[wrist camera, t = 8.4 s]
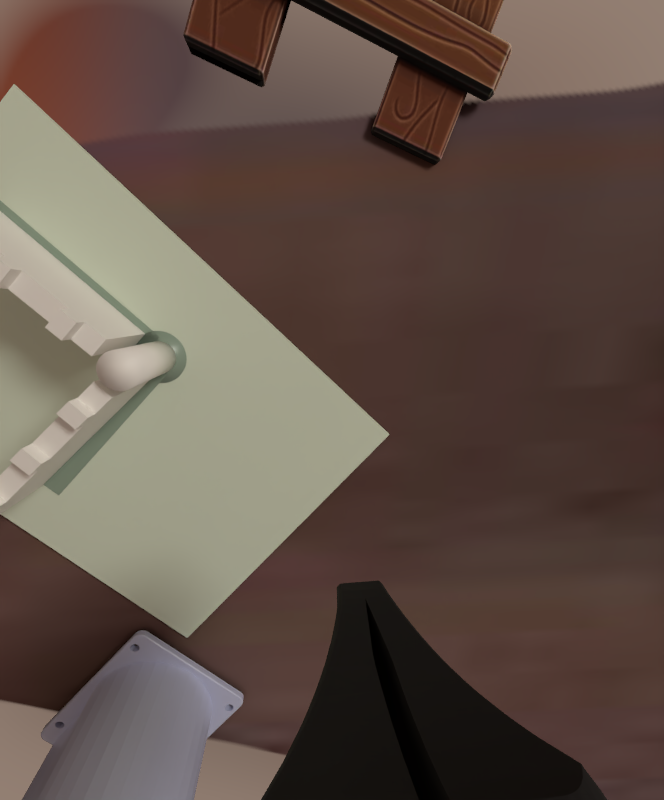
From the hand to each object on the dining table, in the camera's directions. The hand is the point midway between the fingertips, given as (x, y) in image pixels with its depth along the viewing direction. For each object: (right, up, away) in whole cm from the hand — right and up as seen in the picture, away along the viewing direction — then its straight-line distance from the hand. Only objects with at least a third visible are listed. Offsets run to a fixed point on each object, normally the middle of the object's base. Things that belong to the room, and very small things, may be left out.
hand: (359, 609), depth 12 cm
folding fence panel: (-13, +5, +7) cm, 16 cm away
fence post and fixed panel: (-12, +11, +6) cm, 18 cm away
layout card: (-12, +6, +8) cm, 15 cm away
